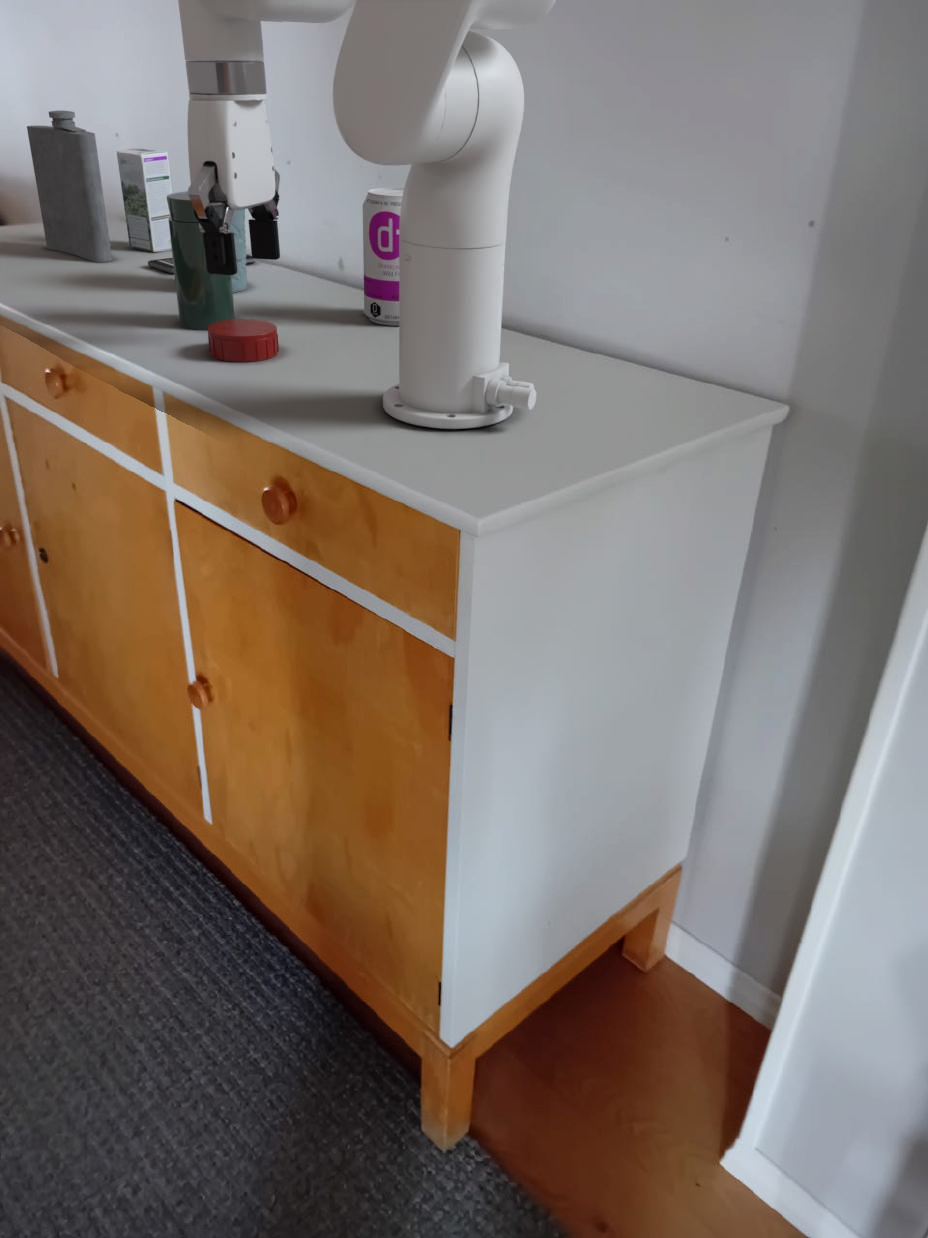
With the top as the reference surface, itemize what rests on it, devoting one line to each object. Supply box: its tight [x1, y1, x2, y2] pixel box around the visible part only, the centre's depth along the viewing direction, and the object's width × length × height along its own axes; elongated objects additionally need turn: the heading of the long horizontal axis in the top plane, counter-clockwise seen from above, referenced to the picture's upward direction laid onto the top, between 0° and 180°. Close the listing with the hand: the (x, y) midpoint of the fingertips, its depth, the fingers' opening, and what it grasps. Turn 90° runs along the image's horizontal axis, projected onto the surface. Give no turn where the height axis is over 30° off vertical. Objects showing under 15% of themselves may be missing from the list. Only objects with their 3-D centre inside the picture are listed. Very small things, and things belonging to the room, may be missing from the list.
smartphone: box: [147, 254, 257, 274], centre depth 151 cm, size 7×1×15 cm
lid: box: [207, 318, 280, 363], centre depth 110 cm, size 8×8×3 cm
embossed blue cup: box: [167, 190, 248, 294], centre depth 135 cm, size 10×10×12 cm
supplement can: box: [362, 187, 404, 327], centre depth 123 cm, size 8×8×15 cm
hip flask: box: [26, 110, 113, 263], centre depth 151 cm, size 16×4×20 cm, turn 49°
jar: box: [168, 193, 236, 331], centre depth 118 cm, size 7×7×14 cm
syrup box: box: [116, 148, 173, 253], centre depth 158 cm, size 6×6×14 cm
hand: (245, 265), depth 106 cm, fingers open, 9 cm apart
